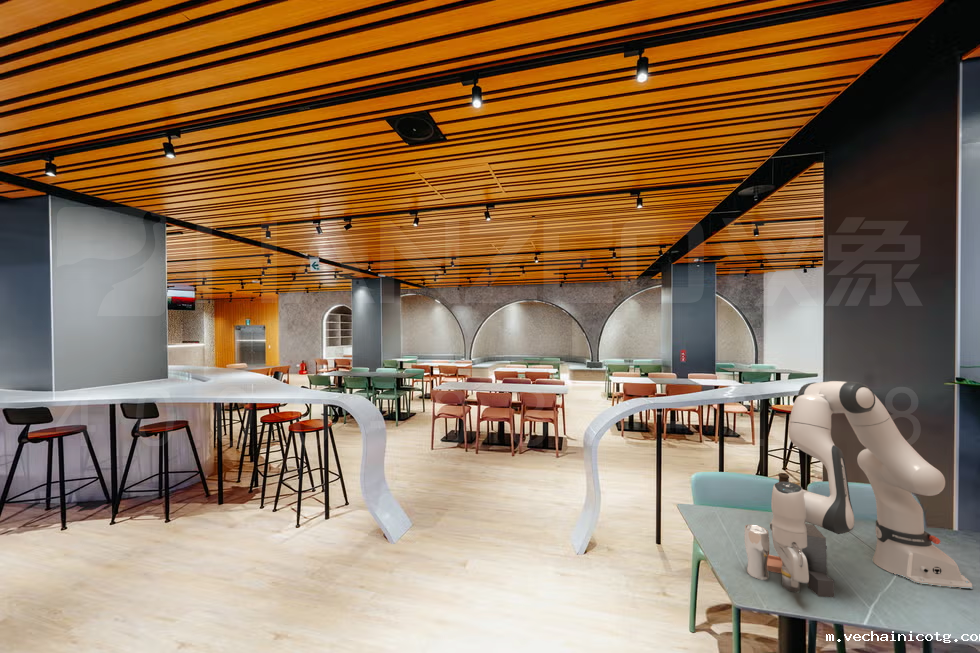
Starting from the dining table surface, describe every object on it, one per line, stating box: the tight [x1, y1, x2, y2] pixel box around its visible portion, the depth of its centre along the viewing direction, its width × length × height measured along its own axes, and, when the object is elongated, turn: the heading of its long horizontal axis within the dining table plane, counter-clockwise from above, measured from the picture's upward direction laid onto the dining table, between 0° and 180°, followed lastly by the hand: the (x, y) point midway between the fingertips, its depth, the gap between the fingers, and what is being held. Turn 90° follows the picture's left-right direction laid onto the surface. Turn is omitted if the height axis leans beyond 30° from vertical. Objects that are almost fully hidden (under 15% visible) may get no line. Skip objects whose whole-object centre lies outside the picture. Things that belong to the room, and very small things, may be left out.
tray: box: [767, 554, 782, 574], centre depth 132 cm, size 8×8×2 cm
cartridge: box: [780, 565, 801, 593], centre depth 121 cm, size 5×5×6 cm
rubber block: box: [807, 571, 835, 599], centre depth 119 cm, size 4×4×5 cm
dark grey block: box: [802, 523, 828, 576], centre depth 130 cm, size 9×10×14 cm
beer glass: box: [743, 524, 771, 581], centre depth 128 cm, size 7×7×15 cm
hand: (790, 580), depth 121 cm, fingers closed on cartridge, 5 cm apart
